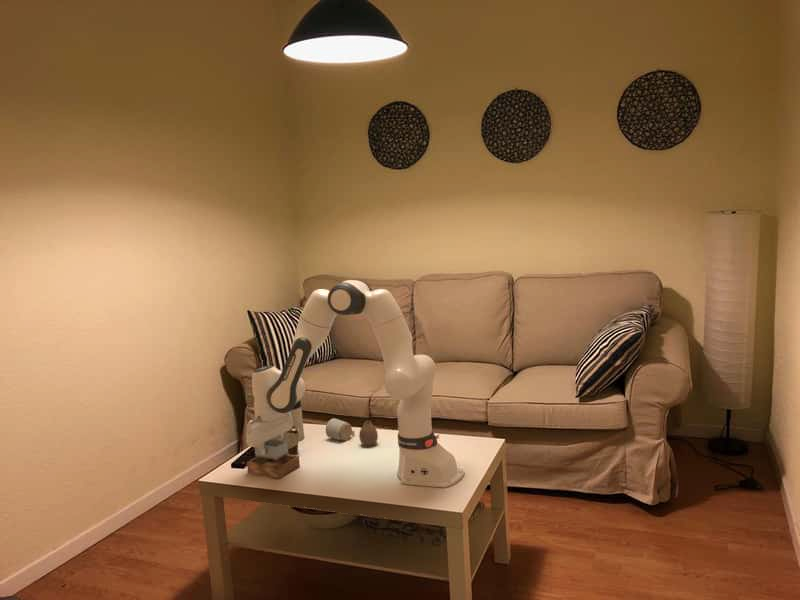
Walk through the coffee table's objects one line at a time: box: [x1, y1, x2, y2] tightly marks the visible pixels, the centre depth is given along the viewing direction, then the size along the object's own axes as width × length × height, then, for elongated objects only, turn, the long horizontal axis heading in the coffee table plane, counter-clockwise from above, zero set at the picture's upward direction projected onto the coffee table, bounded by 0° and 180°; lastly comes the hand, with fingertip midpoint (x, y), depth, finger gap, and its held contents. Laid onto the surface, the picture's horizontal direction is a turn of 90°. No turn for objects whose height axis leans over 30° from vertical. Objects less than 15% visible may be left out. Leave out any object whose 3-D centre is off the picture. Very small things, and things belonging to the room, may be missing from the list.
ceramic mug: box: [325, 417, 355, 442], centre depth 269 cm, size 11×8×8 cm
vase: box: [358, 421, 379, 448], centre depth 259 cm, size 7×7×9 cm
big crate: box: [246, 454, 301, 480], centre depth 242 cm, size 14×12×4 cm
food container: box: [273, 425, 300, 456], centre depth 258 cm, size 12×6×10 cm, turn 84°
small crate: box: [254, 439, 288, 460], centre depth 241 cm, size 10×6×4 cm, turn 58°
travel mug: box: [290, 399, 305, 442], centre depth 271 cm, size 8×8×18 cm
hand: (271, 450), depth 241 cm, fingers closed on small crate, 6 cm apart
